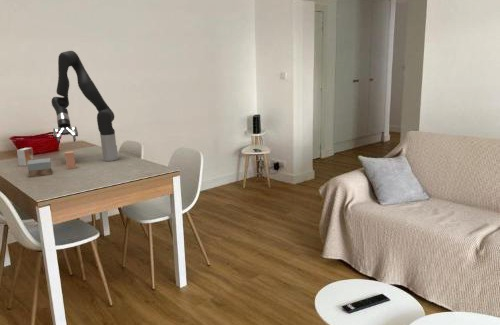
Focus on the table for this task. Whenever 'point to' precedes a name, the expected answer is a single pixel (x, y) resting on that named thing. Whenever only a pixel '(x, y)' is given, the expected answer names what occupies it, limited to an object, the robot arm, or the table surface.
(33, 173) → the walnut slab
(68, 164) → the terracotta block
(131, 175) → the table surface
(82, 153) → the table surface
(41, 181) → the table surface
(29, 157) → the small box
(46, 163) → the slate-grey slab
